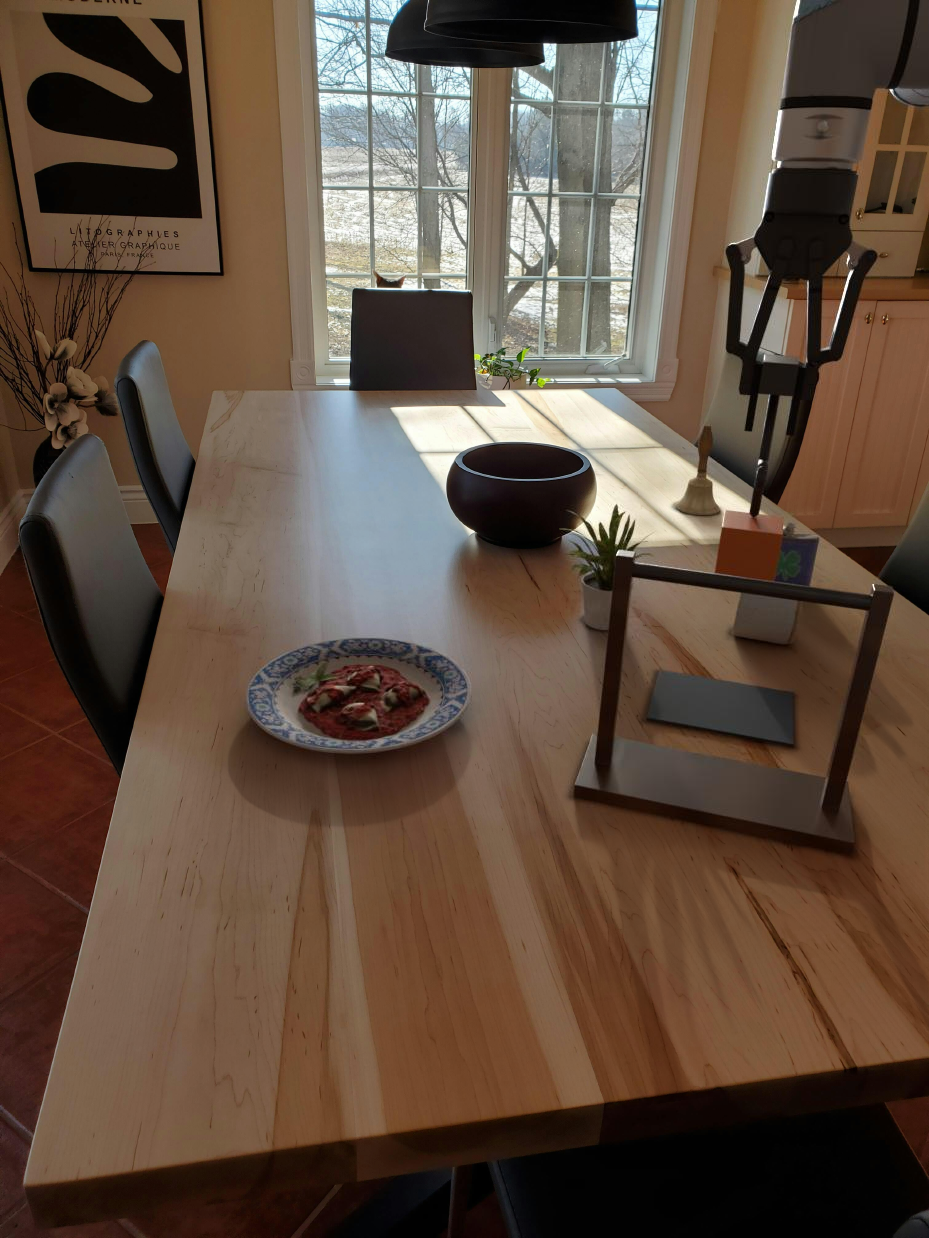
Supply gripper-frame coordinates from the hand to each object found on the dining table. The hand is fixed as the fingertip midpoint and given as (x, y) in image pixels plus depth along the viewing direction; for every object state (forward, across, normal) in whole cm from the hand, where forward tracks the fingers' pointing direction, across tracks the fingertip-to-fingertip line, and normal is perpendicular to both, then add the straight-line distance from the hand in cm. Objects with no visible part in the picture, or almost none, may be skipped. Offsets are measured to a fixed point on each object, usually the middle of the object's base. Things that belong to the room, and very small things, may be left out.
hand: (769, 429), depth 89 cm
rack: (+33, 0, -16) cm, 37 cm away
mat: (+33, 0, +2) cm, 33 cm away
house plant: (+34, -18, +21) cm, 44 cm away
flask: (+34, +6, +41) cm, 53 cm away
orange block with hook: (+16, 0, 0) cm, 16 cm away
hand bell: (+34, -9, +76) cm, 84 cm away
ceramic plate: (+34, -40, -12) cm, 54 cm away
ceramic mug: (+34, +4, +24) cm, 42 cm away
